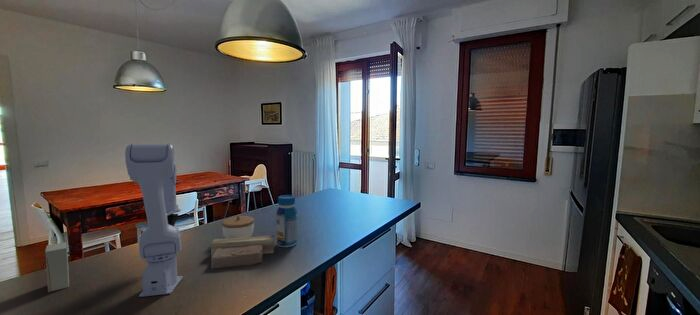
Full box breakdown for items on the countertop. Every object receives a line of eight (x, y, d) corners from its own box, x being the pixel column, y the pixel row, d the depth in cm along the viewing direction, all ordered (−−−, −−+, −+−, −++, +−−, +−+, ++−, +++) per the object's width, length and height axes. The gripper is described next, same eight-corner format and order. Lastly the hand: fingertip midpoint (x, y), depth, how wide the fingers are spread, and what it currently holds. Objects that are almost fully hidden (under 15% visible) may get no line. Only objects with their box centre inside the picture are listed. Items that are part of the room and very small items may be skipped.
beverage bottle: (295, 248, 111) (294, 199, 109) (274, 248, 111) (273, 198, 109) (299, 240, 120) (298, 194, 118) (279, 239, 119) (278, 194, 118)
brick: (210, 269, 94) (210, 256, 93) (216, 258, 102) (215, 246, 101) (261, 265, 98) (261, 252, 97) (263, 254, 106) (263, 242, 105)
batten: (273, 252, 106) (273, 239, 106) (211, 258, 102) (210, 243, 101) (274, 248, 110) (273, 235, 110) (214, 253, 106) (213, 239, 105)
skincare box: (49, 284, 83) (45, 245, 82) (70, 279, 86) (67, 241, 85) (47, 293, 79) (44, 251, 78) (69, 287, 82) (66, 247, 81)
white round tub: (254, 234, 126) (253, 210, 125) (255, 244, 114) (254, 218, 113) (223, 237, 121) (222, 213, 120) (221, 249, 110) (220, 221, 109)
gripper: (170, 202, 89) (172, 243, 90) (186, 192, 103) (188, 228, 104) (145, 203, 87) (147, 245, 88) (165, 193, 101) (167, 229, 103)
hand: (168, 236), depth 96 cm, fingers closed
